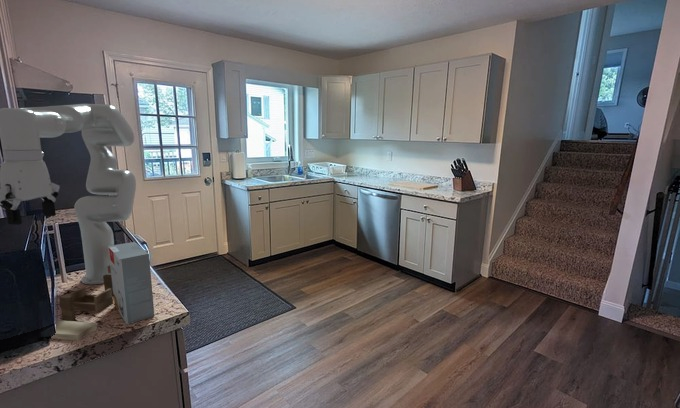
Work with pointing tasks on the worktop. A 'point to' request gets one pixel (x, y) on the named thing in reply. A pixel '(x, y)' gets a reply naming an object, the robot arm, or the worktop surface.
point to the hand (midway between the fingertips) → (33, 219)
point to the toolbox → (86, 300)
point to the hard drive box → (131, 281)
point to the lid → (73, 330)
